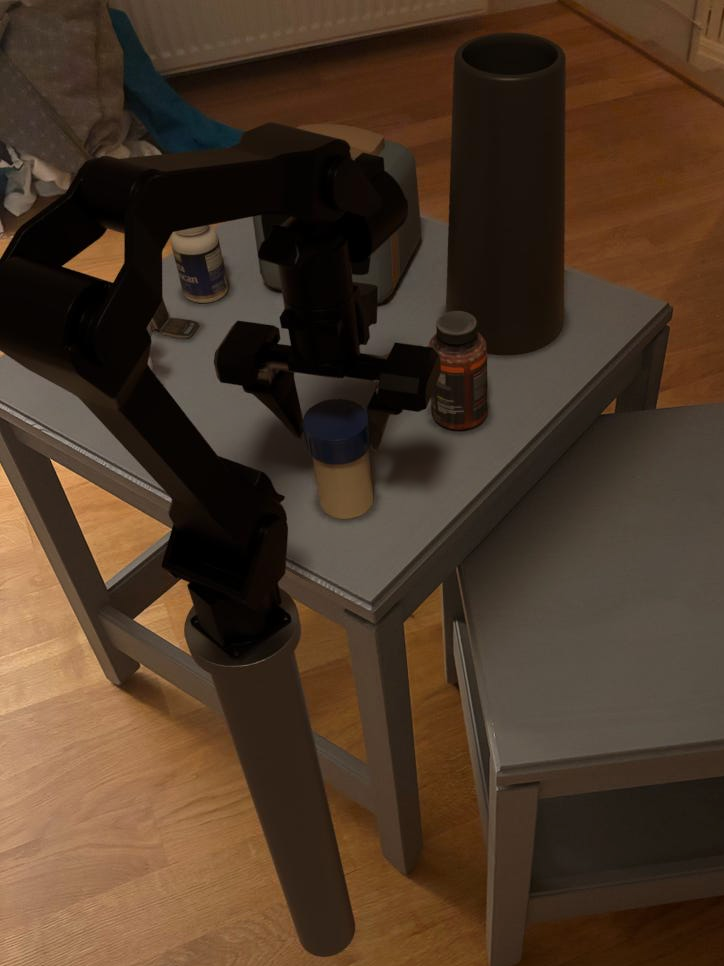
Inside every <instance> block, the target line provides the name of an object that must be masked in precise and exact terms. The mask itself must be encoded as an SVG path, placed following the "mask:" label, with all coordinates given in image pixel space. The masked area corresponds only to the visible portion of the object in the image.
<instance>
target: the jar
mask: <svg viewBox="0 0 724 966" xmlns="http://www.w3.org/2000/svg"><path fill="white" fill-rule="evenodd" d="M312 463H313V469H314V476H315V481H316V482H315V483H316V488H317V492H318V493H317V494H318V499H319V500H318V501H319V505H320V508H321V509H322V511H323V512H324V513H325V514H326V515H328V516H330V517H332V518H334V519H339V520H351V519H355V518H358V517H360V516H363V515H364V514H366V513H367V512H368V511H370V509H371V508H372V506H373V503H374V491H373V482H372V475H371V472H372V471H371V463H370V455H369V451H368V452H367V453H366V454H365V455H364V456H363V457H361V458H360V459H358V460H356V461H354V462H351V463H347V464H342V465H331V464H325V463H322V462H319V461H317V460H316V459H314V458H313V457H312Z"/></svg>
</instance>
